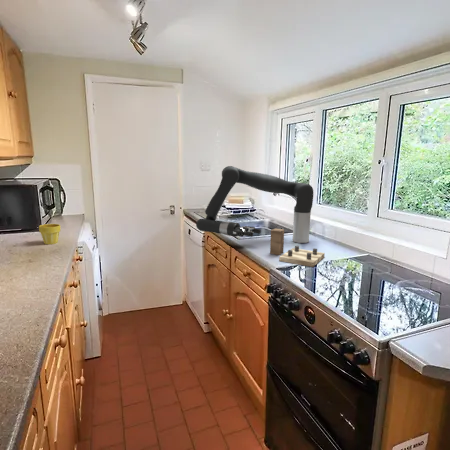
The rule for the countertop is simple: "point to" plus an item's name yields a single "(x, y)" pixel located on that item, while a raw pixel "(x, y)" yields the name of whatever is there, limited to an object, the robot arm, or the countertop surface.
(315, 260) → the wooden peg board
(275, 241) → the walnut block
